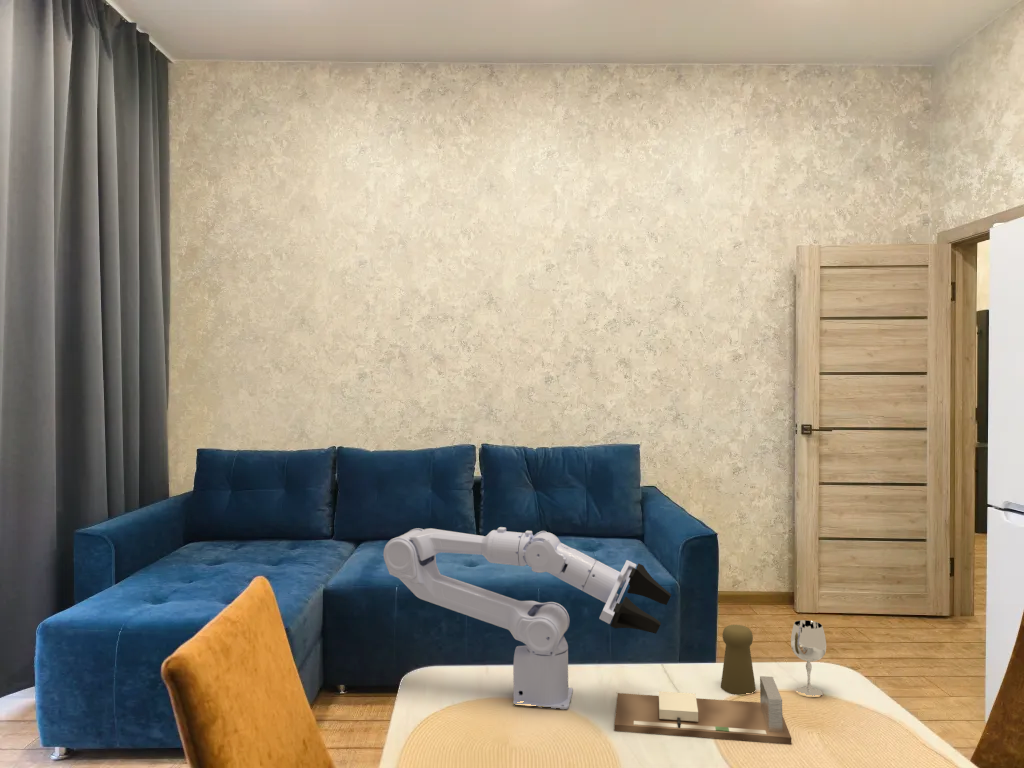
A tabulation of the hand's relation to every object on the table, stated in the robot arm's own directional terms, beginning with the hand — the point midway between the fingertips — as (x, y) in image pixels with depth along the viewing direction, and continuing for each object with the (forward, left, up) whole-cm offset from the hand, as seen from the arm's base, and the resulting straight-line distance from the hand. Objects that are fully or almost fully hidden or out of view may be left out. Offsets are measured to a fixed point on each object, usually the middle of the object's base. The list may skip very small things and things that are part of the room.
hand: (664, 613), depth 123 cm
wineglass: (+25, +12, -17) cm, 32 cm away
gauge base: (+5, -2, -16) cm, 17 cm away
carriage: (+2, -3, -15) cm, 15 cm away
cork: (+13, +12, -17) cm, 24 cm away
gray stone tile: (+17, -2, -16) cm, 23 cm away
